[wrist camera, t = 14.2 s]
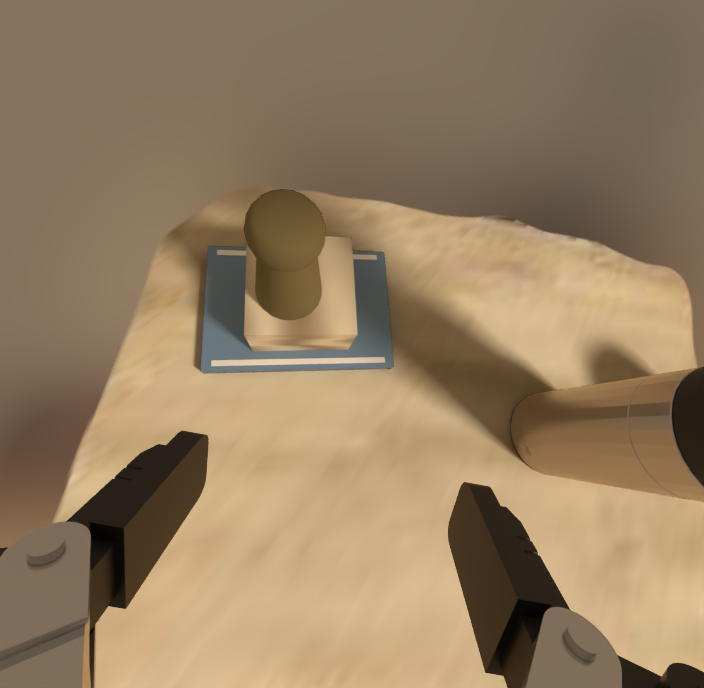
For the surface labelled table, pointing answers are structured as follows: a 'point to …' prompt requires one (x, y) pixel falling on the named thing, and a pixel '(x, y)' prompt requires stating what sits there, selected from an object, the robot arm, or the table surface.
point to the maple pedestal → (327, 318)
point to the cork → (286, 252)
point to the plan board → (237, 356)
